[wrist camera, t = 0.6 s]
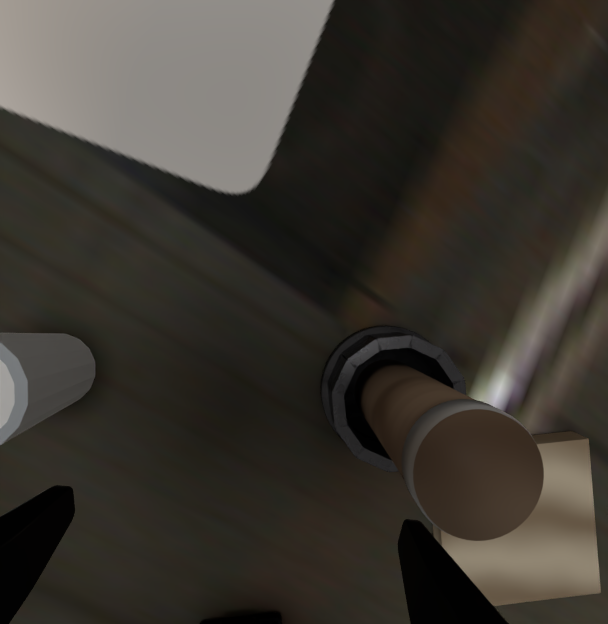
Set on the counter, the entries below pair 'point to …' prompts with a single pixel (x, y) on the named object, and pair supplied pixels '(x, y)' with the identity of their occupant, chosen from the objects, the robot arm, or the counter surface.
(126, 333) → the counter surface
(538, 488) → the tapered cup
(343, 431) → the cup
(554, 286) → the counter surface
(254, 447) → the counter surface
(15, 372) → the shot glass
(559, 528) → the beige cloth napkin
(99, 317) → the counter surface
